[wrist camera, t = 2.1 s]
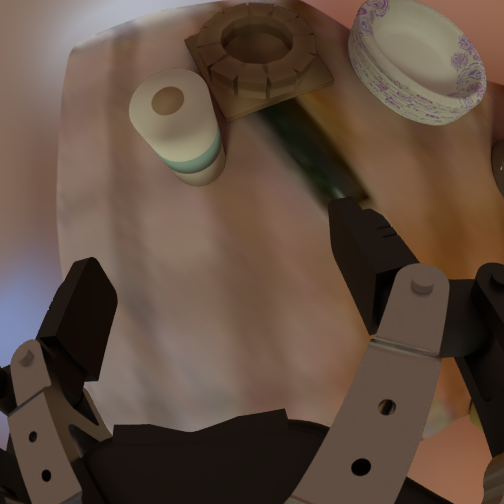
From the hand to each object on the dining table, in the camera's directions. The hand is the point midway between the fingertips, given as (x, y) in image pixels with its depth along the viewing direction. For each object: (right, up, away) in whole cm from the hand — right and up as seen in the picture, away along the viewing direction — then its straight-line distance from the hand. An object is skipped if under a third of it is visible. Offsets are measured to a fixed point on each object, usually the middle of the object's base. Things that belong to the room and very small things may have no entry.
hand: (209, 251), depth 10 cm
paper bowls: (+19, +20, +19) cm, 33 cm away
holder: (+2, +20, +19) cm, 28 cm away
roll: (-4, +9, +18) cm, 21 cm away
